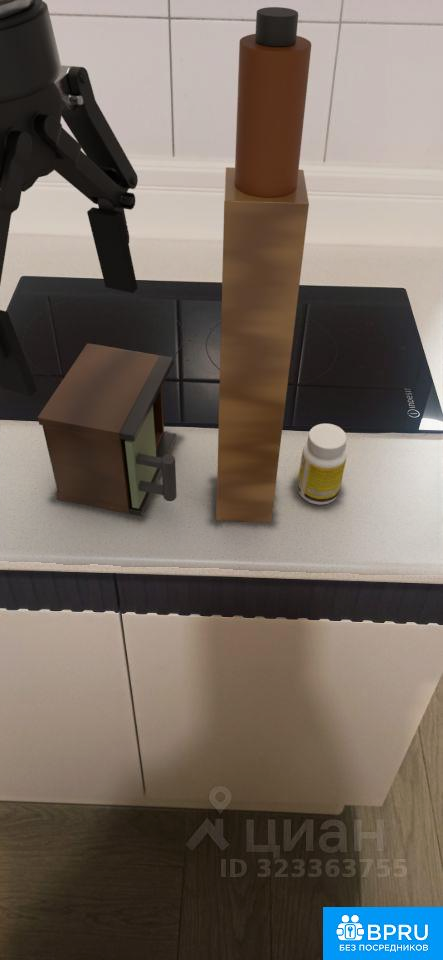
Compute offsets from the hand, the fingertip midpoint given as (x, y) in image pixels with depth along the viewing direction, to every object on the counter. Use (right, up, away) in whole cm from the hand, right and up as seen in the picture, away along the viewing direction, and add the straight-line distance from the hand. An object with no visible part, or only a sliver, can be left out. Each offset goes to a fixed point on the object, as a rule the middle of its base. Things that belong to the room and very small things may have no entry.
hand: (74, 335), depth 51 cm
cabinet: (-1, -10, +27) cm, 28 cm away
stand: (+14, -14, +23) cm, 30 cm away
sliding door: (+5, -12, +23) cm, 26 cm away
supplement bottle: (+22, -12, +25) cm, 36 cm away
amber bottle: (+15, +11, -2) cm, 18 cm away
